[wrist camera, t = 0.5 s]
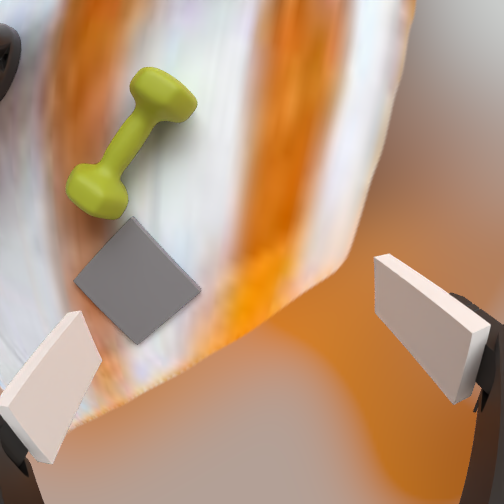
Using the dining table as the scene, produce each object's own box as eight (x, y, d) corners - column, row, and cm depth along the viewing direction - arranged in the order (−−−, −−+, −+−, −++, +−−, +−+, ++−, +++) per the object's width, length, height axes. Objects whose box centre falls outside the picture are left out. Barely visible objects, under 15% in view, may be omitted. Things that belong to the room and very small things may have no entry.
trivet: (76, 278, 37) (73, 280, 36) (133, 216, 35) (130, 217, 34) (139, 341, 40) (137, 345, 39) (201, 288, 38) (200, 291, 37)
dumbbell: (124, 220, 35) (102, 234, 28) (76, 183, 33) (47, 189, 27) (207, 106, 32) (202, 92, 25) (154, 70, 31) (138, 51, 24)
